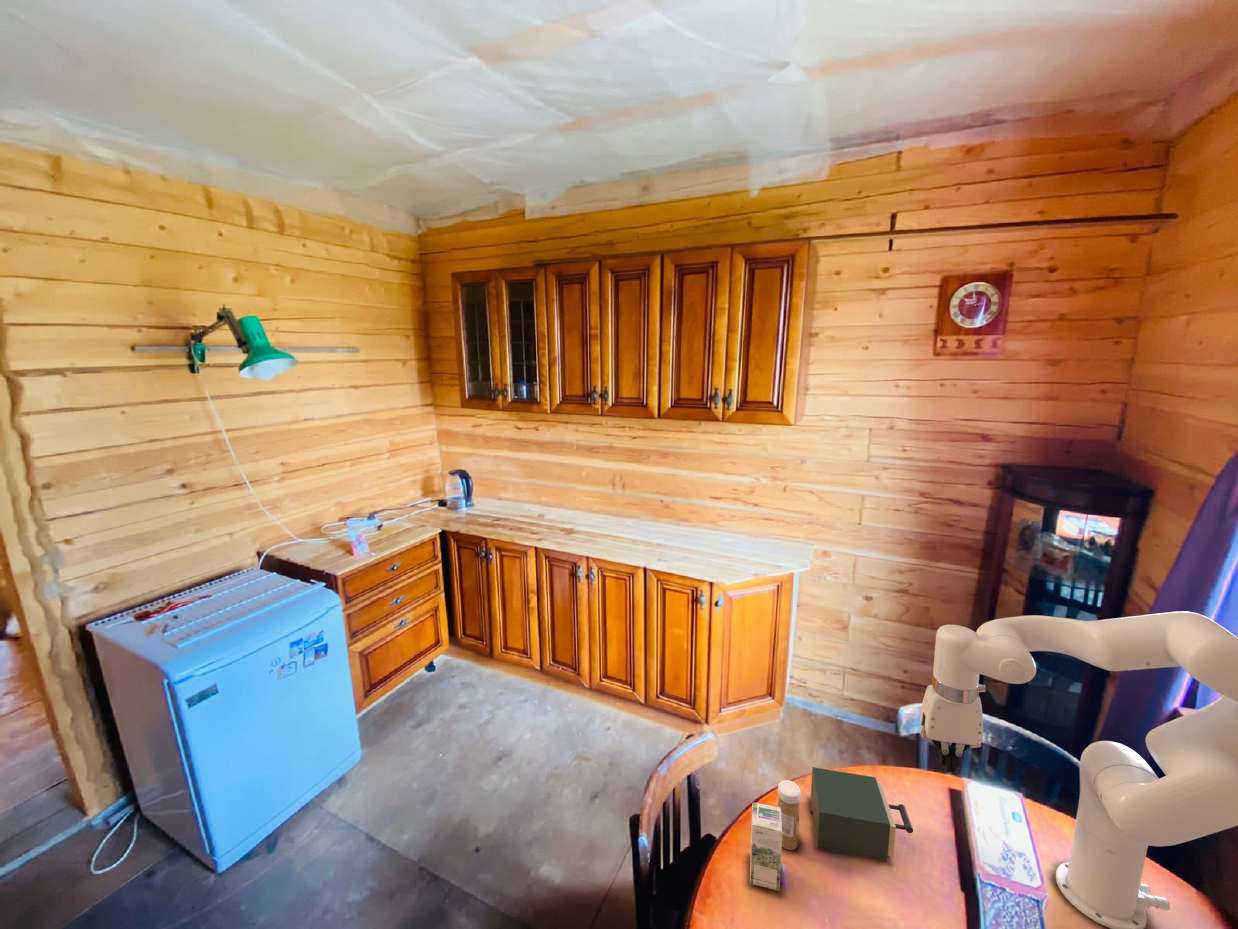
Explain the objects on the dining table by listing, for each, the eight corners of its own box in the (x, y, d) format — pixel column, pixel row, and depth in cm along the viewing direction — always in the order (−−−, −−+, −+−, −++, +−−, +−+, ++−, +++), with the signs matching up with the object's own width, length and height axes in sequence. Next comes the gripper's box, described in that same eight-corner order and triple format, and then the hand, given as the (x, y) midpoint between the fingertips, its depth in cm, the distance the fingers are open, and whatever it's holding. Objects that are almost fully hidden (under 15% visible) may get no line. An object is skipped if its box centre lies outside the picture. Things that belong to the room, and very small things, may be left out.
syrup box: (778, 865, 104) (781, 805, 101) (779, 893, 98) (782, 830, 96) (750, 859, 105) (752, 799, 103) (749, 886, 100) (751, 824, 97)
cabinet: (872, 811, 116) (875, 777, 114) (887, 862, 104) (890, 824, 102) (810, 800, 119) (812, 767, 118) (817, 848, 107) (819, 812, 106)
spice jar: (802, 843, 108) (805, 789, 106) (788, 855, 106) (791, 800, 104) (785, 828, 112) (787, 775, 110) (771, 838, 110) (773, 785, 107)
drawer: (899, 814, 114) (902, 787, 113) (915, 861, 103) (918, 831, 102) (821, 801, 118) (823, 774, 117) (828, 844, 107) (830, 815, 106)
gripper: (988, 680, 102) (981, 760, 105) (907, 672, 106) (902, 749, 109) (1006, 704, 95) (998, 788, 98) (919, 694, 99) (913, 776, 102)
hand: (947, 767), depth 104 cm, fingers closed
